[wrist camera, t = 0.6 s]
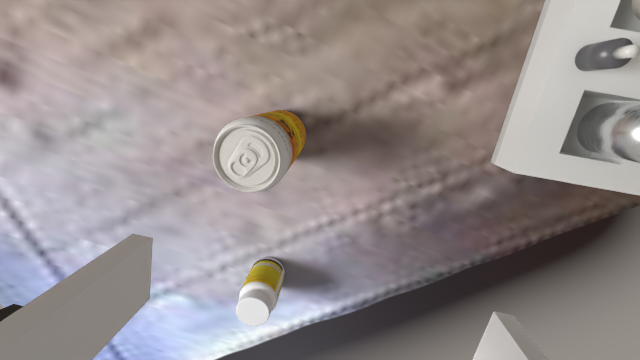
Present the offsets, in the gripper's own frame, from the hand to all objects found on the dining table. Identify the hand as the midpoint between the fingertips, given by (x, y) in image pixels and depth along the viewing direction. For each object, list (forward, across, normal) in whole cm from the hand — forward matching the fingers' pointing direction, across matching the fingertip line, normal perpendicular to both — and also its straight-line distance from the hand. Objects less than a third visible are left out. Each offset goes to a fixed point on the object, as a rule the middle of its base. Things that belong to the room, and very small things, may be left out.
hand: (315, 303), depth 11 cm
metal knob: (+22, +26, +10) cm, 35 cm away
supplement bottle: (+28, -6, -18) cm, 33 cm away
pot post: (+22, +22, +16) cm, 35 cm away
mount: (+27, +26, +16) cm, 41 cm away
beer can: (+28, -7, +2) cm, 28 cm away
